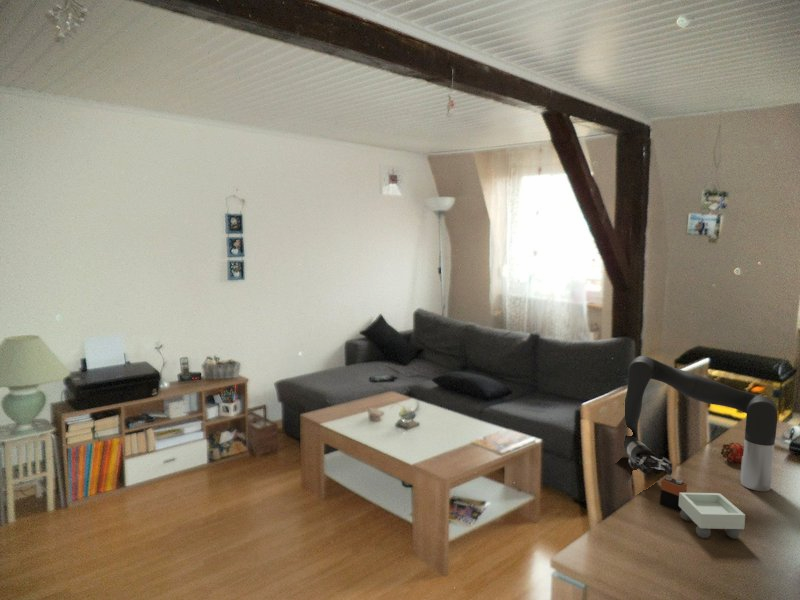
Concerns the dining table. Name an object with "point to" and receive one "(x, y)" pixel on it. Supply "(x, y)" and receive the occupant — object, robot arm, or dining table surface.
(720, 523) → the cart
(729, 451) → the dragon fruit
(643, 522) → the dining table surface
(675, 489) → the battery
